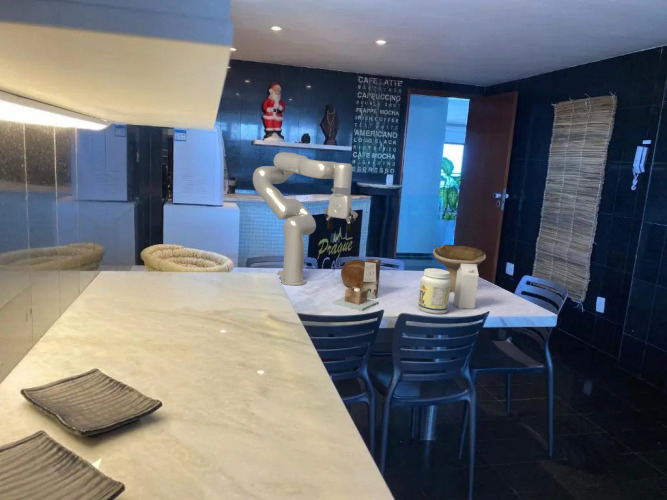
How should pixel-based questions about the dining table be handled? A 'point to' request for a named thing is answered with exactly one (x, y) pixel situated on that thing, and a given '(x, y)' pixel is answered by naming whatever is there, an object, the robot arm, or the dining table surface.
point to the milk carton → (466, 286)
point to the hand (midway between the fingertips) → (339, 230)
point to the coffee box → (371, 277)
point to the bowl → (457, 259)
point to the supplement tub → (434, 291)
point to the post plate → (355, 306)
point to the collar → (356, 296)
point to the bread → (353, 273)
